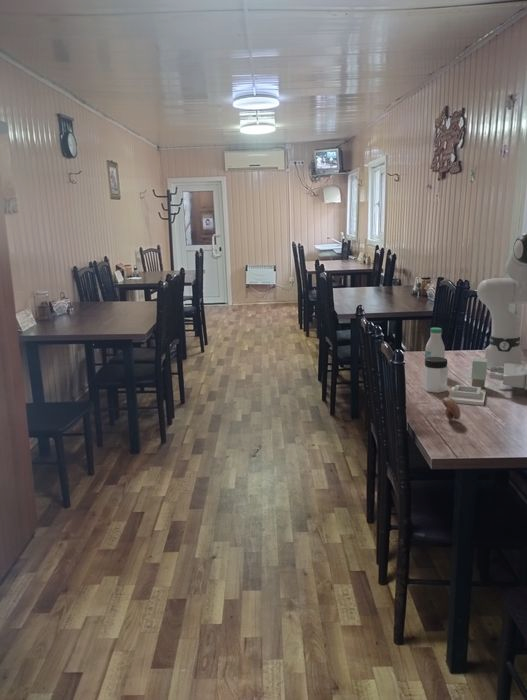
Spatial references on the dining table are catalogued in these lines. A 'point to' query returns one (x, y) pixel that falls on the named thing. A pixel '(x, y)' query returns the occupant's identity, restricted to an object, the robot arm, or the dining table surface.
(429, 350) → the milk bottle
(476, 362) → the plug
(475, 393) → the socket
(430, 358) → the jar
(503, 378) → the robot arm
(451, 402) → the mushroom
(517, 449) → the dining table surface
